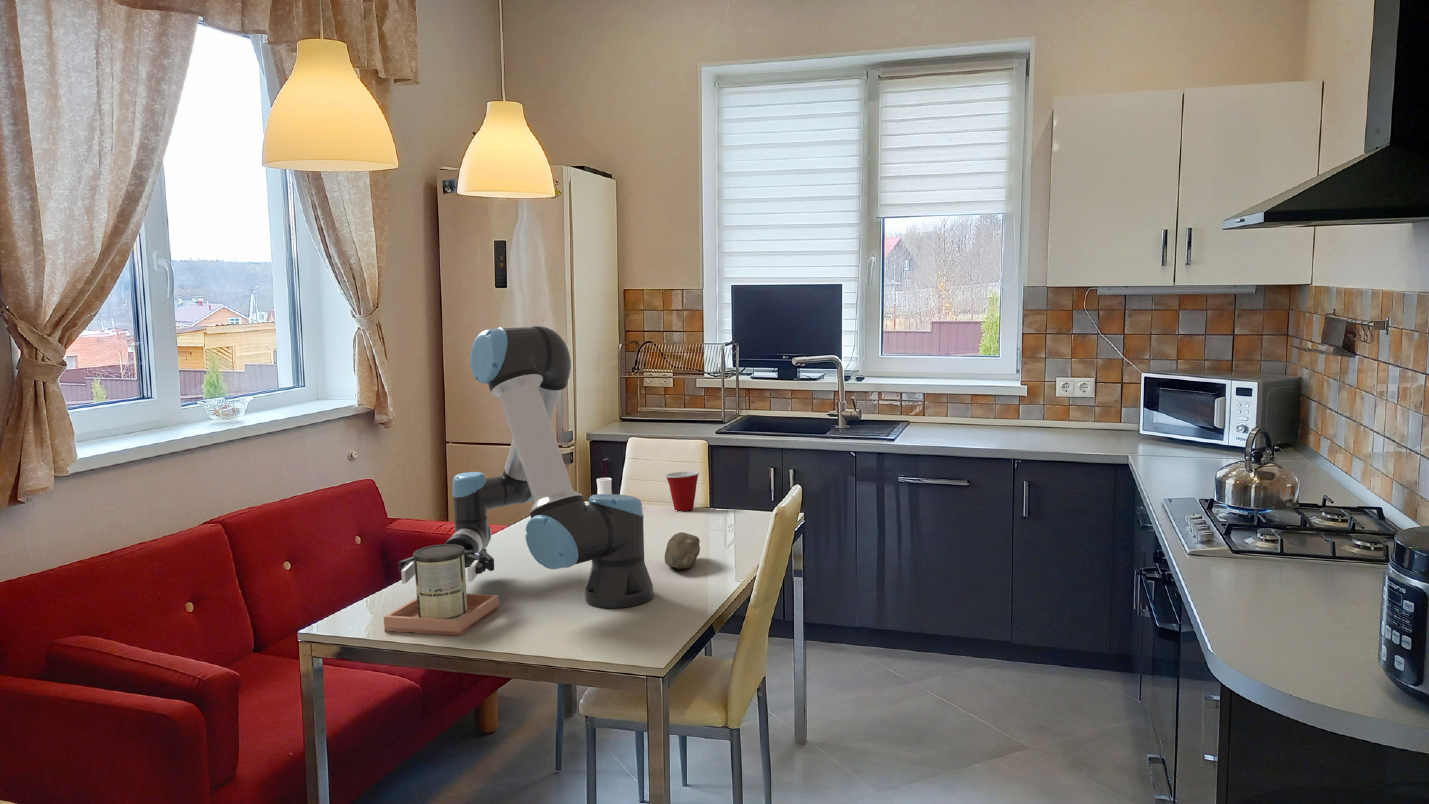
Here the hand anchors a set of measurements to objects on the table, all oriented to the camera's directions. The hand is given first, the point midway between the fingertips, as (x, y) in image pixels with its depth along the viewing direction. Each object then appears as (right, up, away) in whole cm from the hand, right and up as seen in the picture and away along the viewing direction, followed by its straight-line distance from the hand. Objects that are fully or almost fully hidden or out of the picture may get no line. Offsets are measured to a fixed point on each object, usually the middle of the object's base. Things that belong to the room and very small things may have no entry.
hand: (436, 576), depth 195 cm
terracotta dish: (0, -10, +4) cm, 11 cm away
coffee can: (0, -9, +4) cm, 10 cm away
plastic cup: (+47, +2, +103) cm, 114 cm away
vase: (+22, +1, +106) cm, 109 cm away
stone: (+49, -5, +40) cm, 64 cm away
